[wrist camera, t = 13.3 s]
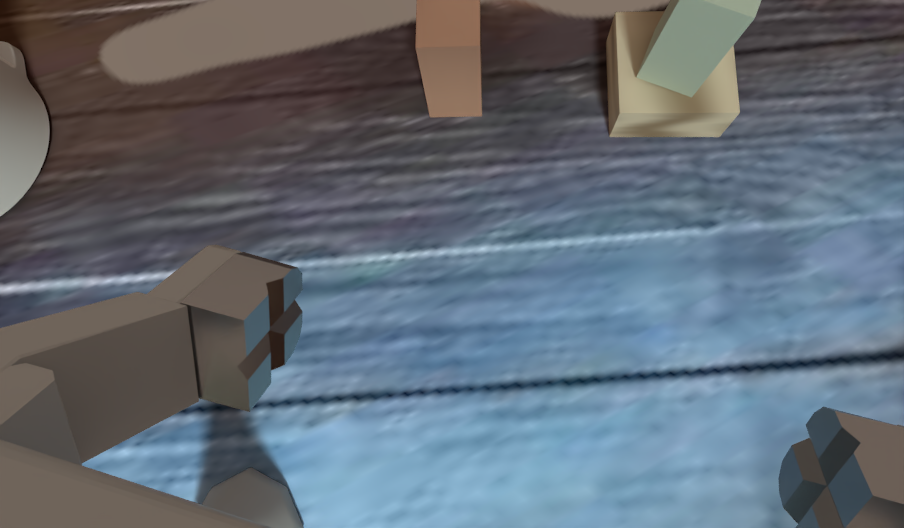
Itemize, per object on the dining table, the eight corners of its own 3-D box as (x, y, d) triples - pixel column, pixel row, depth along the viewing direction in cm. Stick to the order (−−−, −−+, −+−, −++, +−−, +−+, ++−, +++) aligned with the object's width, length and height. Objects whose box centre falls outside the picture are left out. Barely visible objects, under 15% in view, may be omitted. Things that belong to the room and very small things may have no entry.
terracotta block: (429, 117, 45) (415, 47, 36) (430, 70, 46) (417, -8, 37) (481, 116, 45) (480, 45, 36) (481, 69, 46) (479, -10, 37)
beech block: (608, 139, 44) (619, 113, 40) (605, 45, 46) (615, 11, 42) (717, 138, 43) (739, 112, 40) (709, 43, 45) (730, 10, 41)
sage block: (636, 77, 40) (683, -7, 32) (655, 29, 41) (706, -67, 32) (691, 97, 40) (754, 18, 31) (709, 48, 41) (776, -44, 32)
